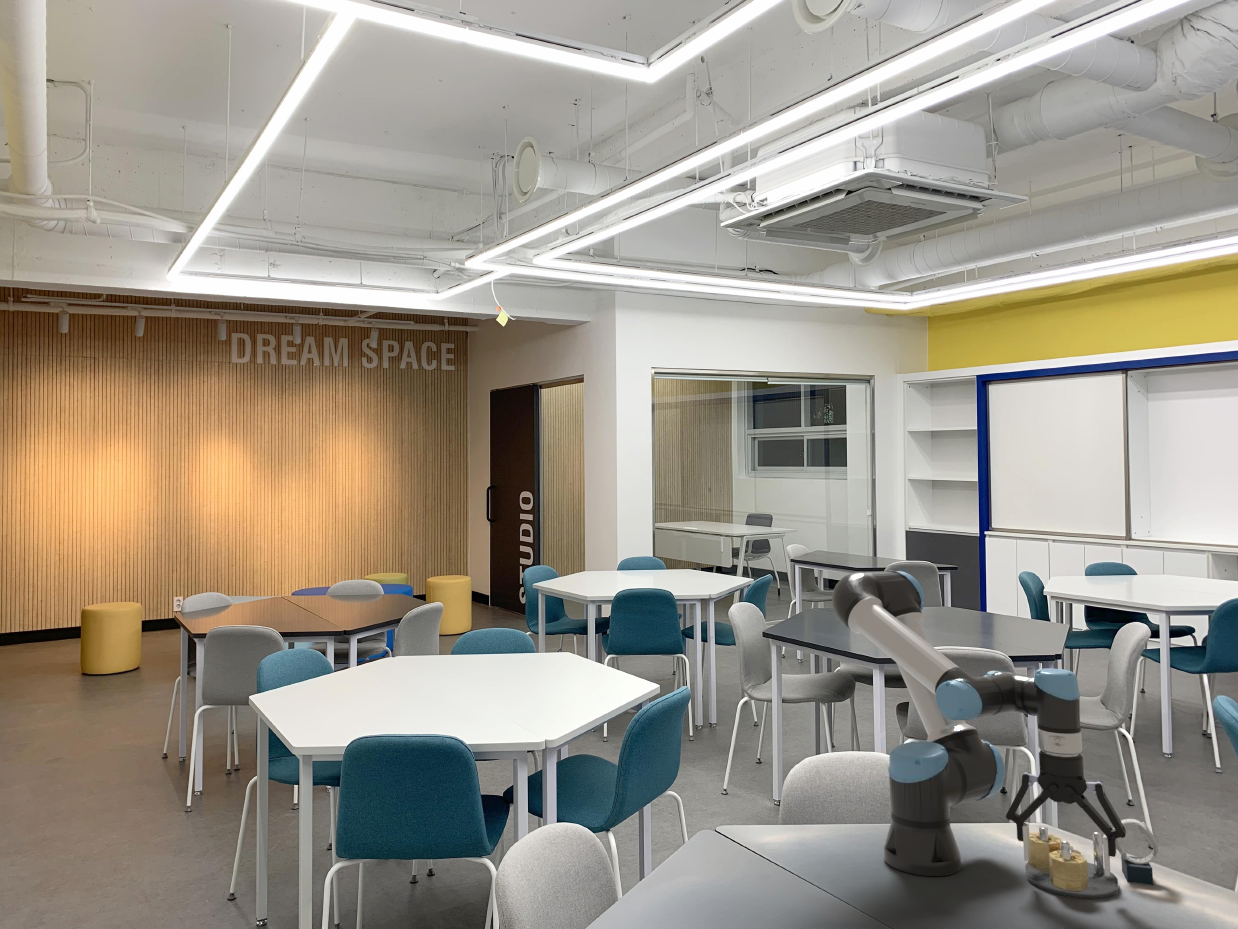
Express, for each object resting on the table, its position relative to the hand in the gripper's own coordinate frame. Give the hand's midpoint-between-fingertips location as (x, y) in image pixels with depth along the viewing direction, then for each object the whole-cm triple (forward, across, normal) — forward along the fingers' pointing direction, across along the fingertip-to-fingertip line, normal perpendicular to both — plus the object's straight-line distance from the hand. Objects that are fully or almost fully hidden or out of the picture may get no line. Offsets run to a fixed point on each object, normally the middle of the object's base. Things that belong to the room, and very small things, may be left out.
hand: (1066, 866), depth 162 cm
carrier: (+5, 0, +6) cm, 7 cm away
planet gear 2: (+3, 0, 0) cm, 3 cm away
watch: (+5, +11, +14) cm, 18 cm away
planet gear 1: (+3, -5, +8) cm, 10 cm away
